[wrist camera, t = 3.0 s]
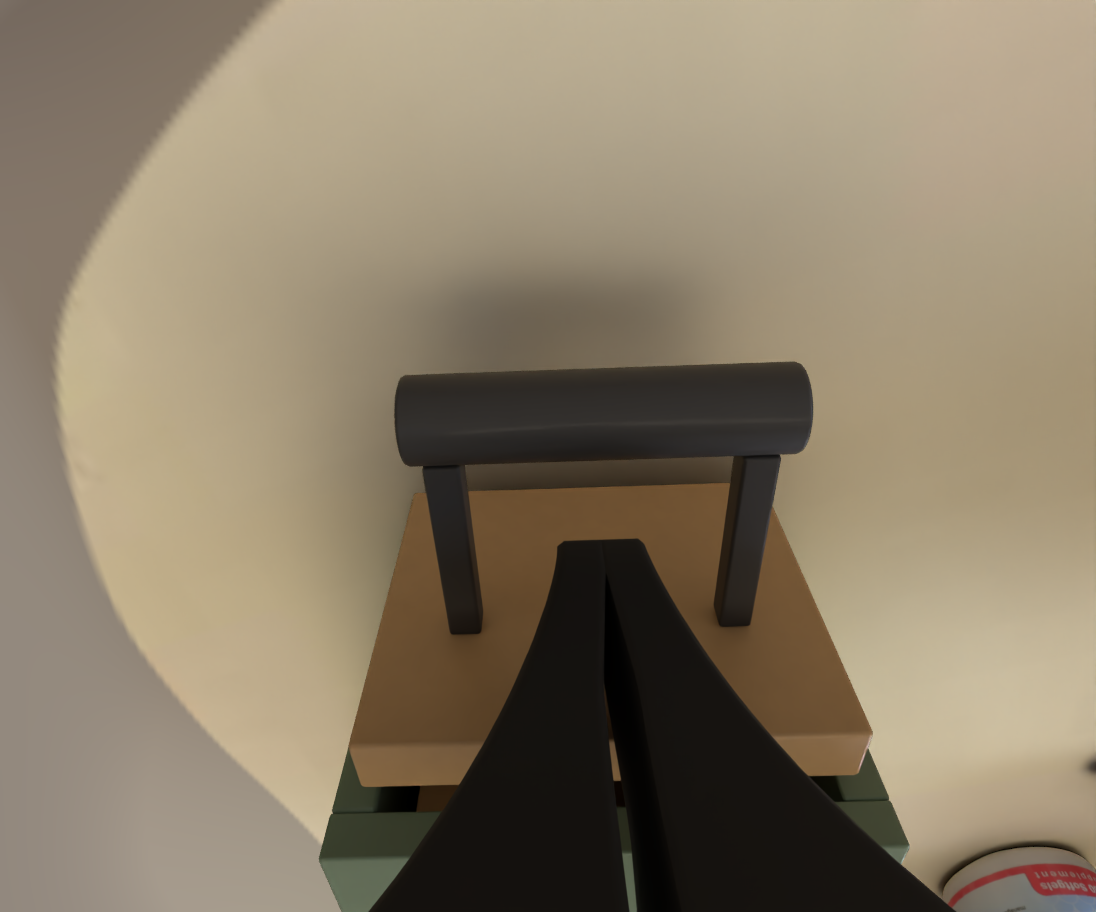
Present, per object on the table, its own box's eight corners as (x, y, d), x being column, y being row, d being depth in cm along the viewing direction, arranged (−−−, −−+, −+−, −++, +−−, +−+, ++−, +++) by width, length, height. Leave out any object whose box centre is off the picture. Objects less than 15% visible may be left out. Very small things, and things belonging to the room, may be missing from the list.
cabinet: (405, 522, 18) (316, 860, 11) (767, 511, 18) (911, 847, 11) (454, 771, 25) (418, 1086, 18) (721, 765, 25) (793, 1080, 17)
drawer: (375, 283, 14) (256, 485, 8) (798, 267, 14) (979, 462, 8) (460, 748, 22) (432, 1001, 17) (718, 742, 22) (776, 994, 17)
